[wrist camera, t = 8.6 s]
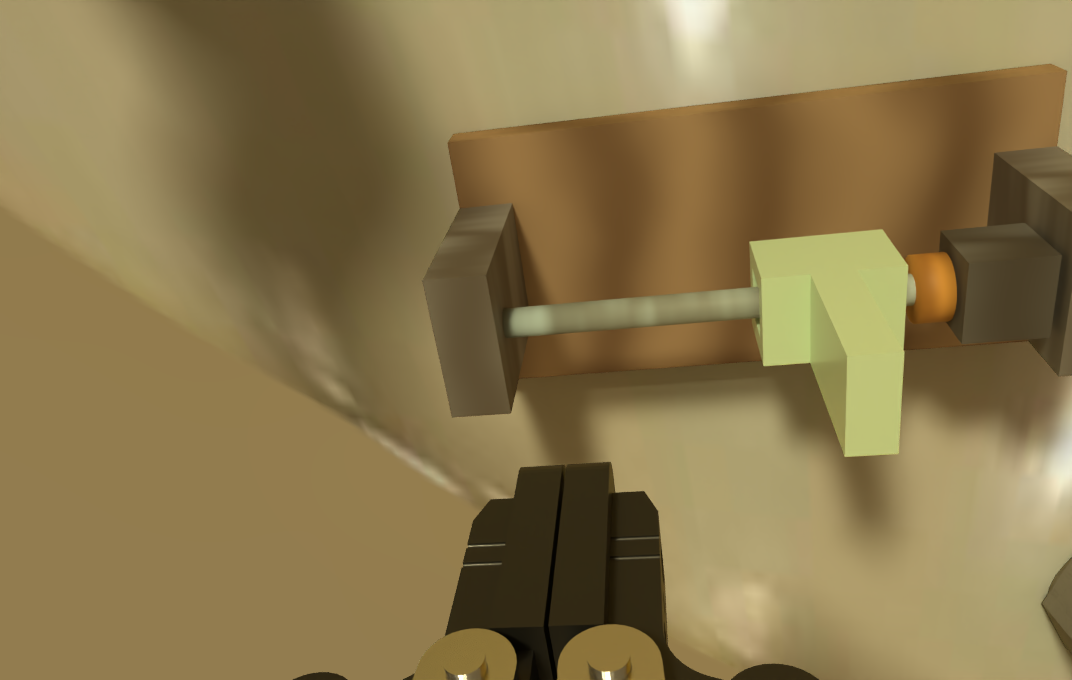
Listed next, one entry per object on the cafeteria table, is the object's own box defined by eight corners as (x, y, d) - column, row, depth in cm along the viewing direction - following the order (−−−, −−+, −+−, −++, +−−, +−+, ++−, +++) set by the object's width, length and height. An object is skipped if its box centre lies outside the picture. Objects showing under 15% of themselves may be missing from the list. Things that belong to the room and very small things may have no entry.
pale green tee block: (751, 323, 36) (788, 459, 28) (749, 241, 34) (787, 360, 26) (878, 312, 35) (956, 450, 27) (882, 229, 34) (966, 347, 25)
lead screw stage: (496, 365, 45) (465, 477, 36) (453, 134, 39) (405, 203, 31) (1018, 325, 41) (1117, 441, 33) (1050, 63, 36) (1179, 121, 27)
